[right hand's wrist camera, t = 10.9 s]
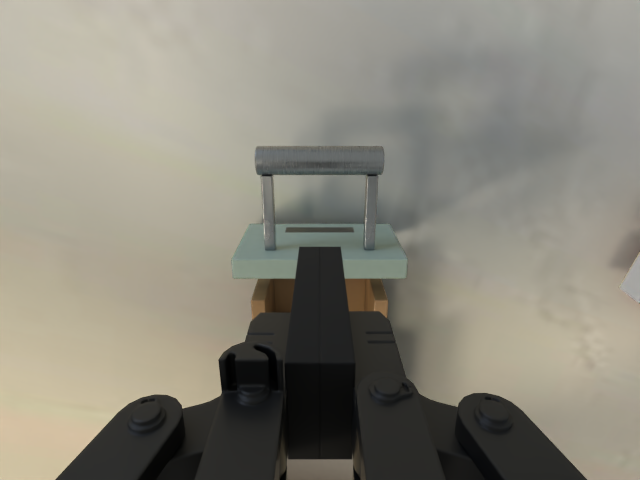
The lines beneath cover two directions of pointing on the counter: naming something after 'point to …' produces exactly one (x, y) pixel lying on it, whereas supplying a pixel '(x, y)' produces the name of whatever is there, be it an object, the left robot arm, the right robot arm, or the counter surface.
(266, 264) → the drawer
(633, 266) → the toy
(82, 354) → the counter surface
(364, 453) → the right robot arm
